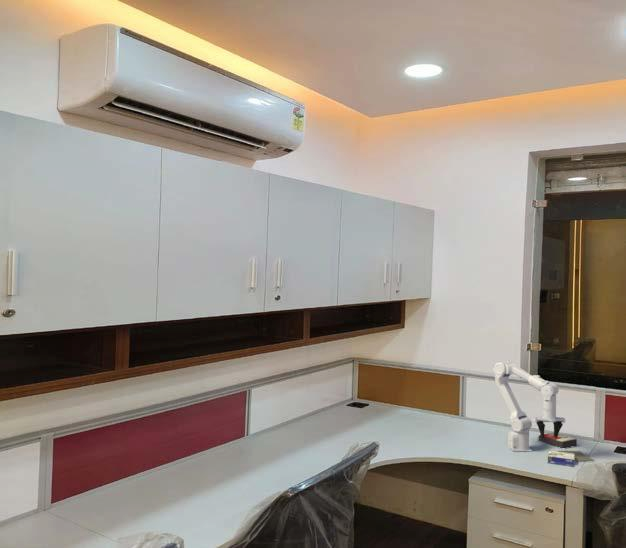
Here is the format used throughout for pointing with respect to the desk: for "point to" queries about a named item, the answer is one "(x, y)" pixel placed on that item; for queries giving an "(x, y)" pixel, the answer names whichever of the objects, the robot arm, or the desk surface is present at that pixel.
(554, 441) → the red and black box
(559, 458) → the ink box
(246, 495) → the desk surface
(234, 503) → the desk surface
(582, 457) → the desk mat
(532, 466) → the desk surface
